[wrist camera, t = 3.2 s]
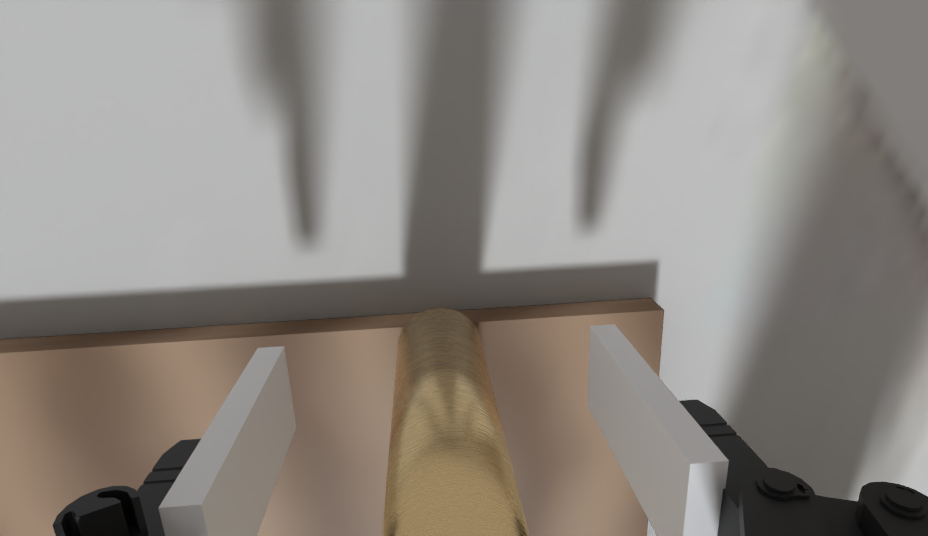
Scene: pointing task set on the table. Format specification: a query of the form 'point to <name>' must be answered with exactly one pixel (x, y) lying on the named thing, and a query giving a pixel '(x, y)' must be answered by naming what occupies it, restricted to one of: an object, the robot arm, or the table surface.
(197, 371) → the nutcracker base
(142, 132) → the table surface
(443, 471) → the lever
